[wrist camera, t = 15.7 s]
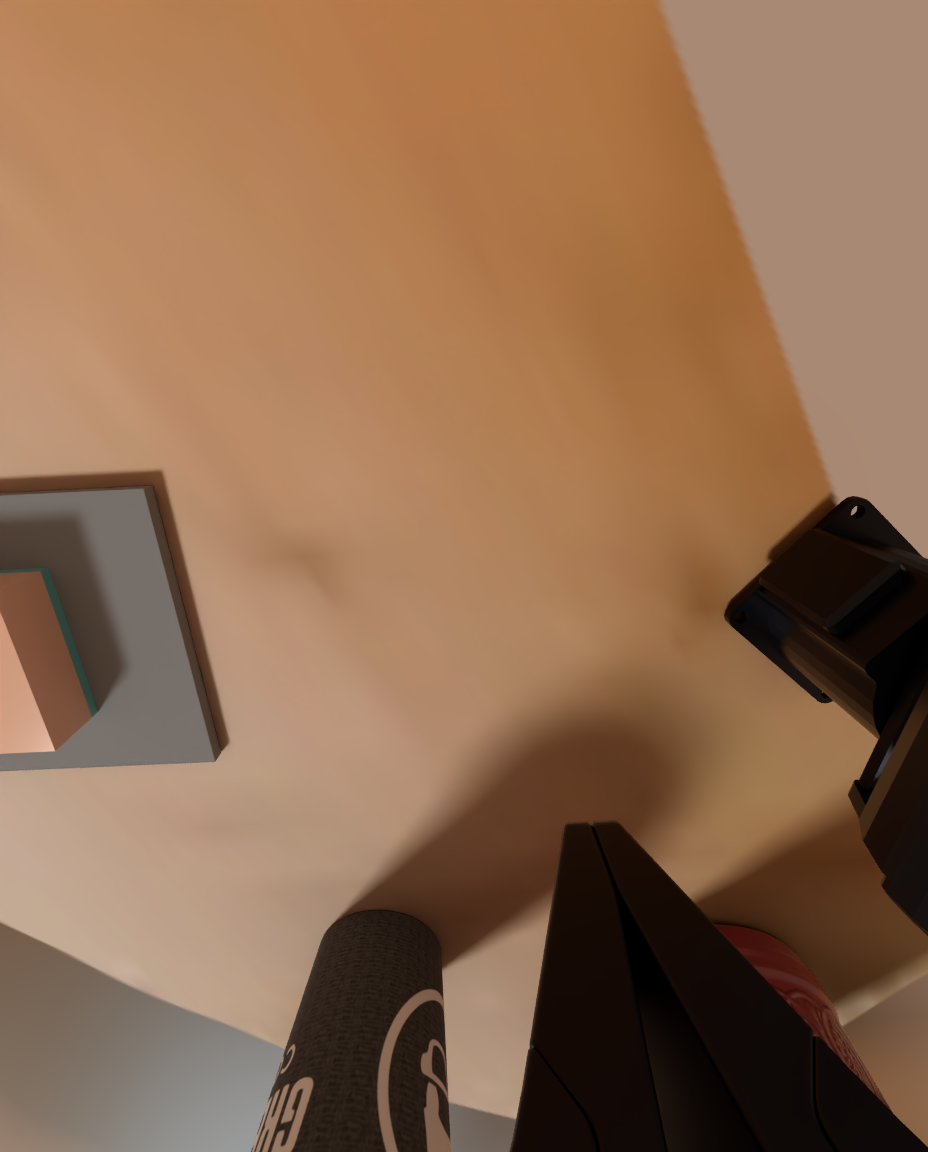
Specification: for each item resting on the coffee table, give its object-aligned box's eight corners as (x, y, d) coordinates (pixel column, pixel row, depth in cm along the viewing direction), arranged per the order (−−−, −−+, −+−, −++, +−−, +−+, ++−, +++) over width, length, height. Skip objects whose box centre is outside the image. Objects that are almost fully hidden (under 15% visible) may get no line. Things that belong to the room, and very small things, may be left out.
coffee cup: (361, 858, 26) (243, 1431, 12) (506, 944, 28) (553, 1512, 14) (256, 961, 28) (56, 1533, 14) (397, 1031, 31) (344, 1587, 16)
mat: (152, 485, 19) (143, 488, 19) (221, 752, 23) (215, 761, 23) (-198, 502, 19) (-217, 506, 19) (-67, 765, 24) (-80, 774, 23)
